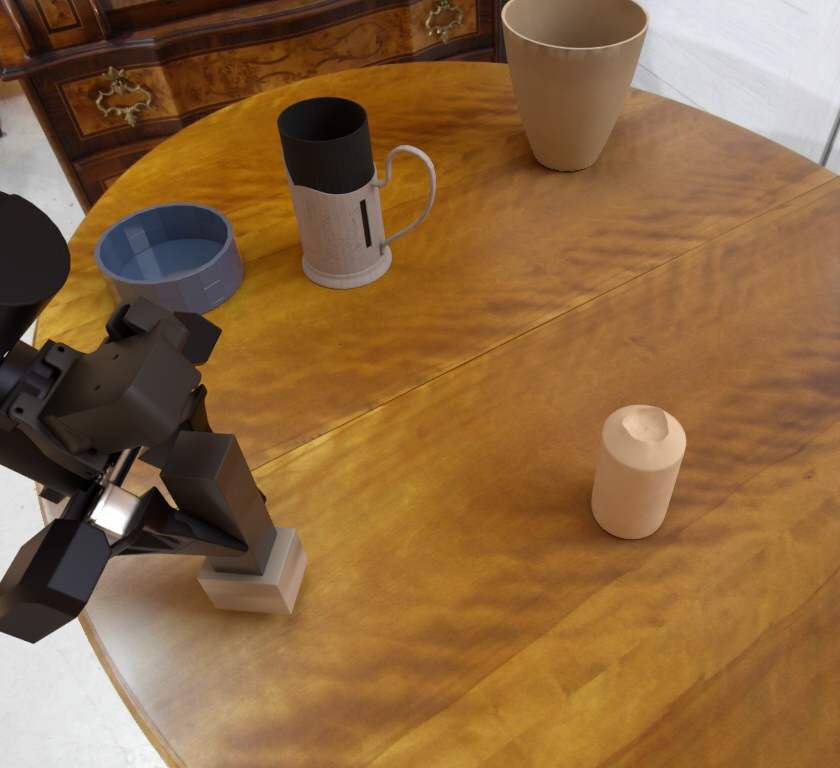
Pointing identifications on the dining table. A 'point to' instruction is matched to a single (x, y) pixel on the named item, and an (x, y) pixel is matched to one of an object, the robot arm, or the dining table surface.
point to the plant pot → (571, 72)
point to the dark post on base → (234, 525)
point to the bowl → (172, 257)
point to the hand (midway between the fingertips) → (253, 527)
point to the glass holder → (339, 191)
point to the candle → (636, 470)
